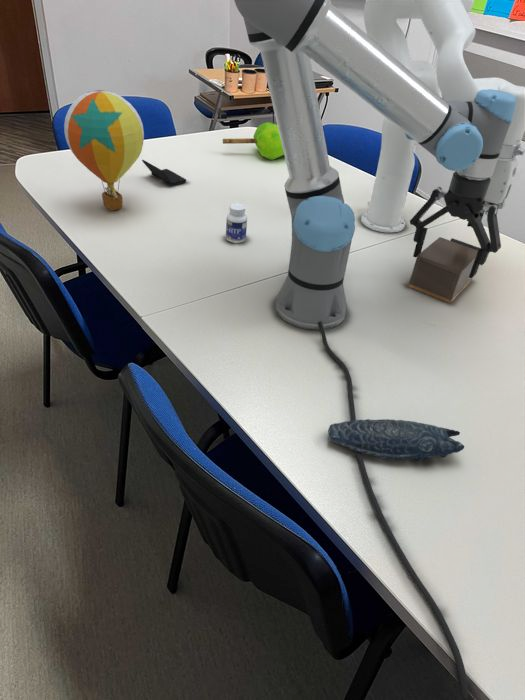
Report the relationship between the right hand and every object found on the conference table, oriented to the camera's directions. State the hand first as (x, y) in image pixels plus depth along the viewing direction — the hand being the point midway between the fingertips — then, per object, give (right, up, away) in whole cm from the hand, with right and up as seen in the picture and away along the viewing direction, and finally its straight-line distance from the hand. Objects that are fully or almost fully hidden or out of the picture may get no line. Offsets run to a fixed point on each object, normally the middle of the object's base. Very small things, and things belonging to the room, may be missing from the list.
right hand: (472, 225), depth 126 cm
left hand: (-9, -11, -6) cm, 15 cm away
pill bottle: (-58, -1, +10) cm, 59 cm away
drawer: (-5, -11, +3) cm, 12 cm away
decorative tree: (-51, +41, +63) cm, 91 cm away
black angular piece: (-82, +23, +38) cm, 93 cm away
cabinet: (-8, -14, 0) cm, 16 cm away
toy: (-93, +9, +19) cm, 95 cm away
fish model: (-30, -46, -42) cm, 70 cm away
